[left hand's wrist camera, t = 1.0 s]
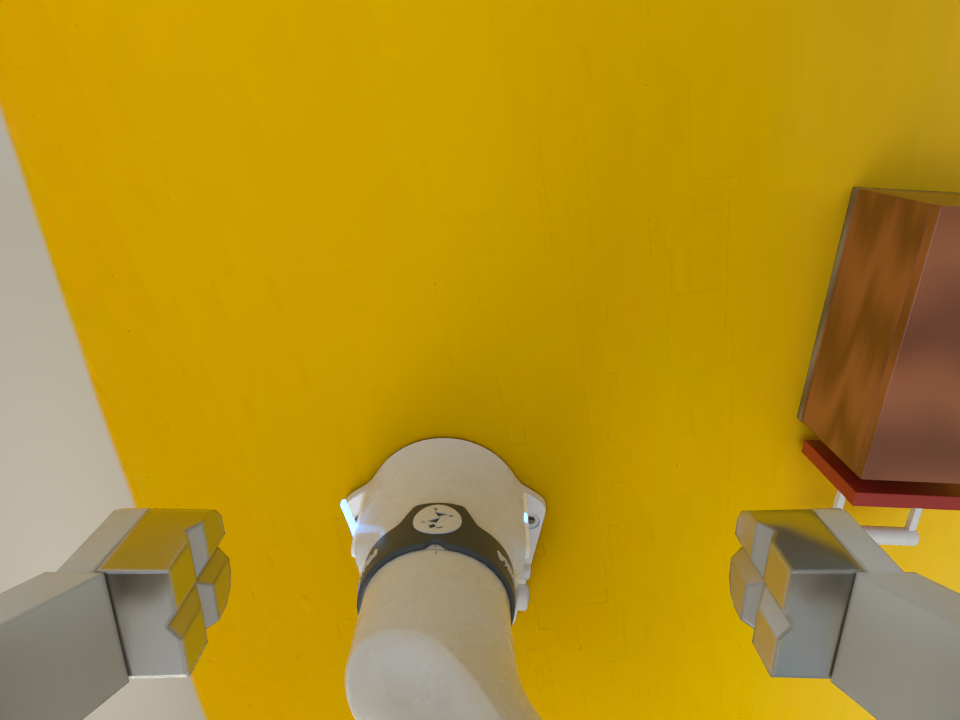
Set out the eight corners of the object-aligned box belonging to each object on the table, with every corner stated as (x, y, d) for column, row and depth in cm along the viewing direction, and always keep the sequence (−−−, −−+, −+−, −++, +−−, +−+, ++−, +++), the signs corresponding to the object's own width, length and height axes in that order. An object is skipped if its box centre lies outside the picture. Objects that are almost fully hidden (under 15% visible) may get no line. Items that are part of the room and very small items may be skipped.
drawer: (891, 513, 62) (954, 575, 53) (786, 509, 61) (833, 570, 53) (976, 249, 53) (1066, 274, 45) (853, 242, 53) (922, 267, 44)
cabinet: (919, 422, 59) (1007, 486, 49) (796, 417, 59) (860, 479, 49) (991, 194, 52) (1112, 214, 42) (853, 187, 52) (941, 205, 42)
